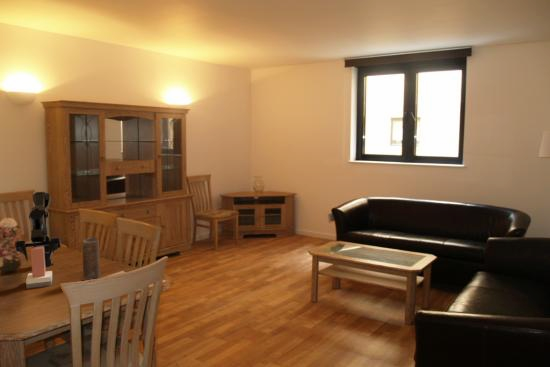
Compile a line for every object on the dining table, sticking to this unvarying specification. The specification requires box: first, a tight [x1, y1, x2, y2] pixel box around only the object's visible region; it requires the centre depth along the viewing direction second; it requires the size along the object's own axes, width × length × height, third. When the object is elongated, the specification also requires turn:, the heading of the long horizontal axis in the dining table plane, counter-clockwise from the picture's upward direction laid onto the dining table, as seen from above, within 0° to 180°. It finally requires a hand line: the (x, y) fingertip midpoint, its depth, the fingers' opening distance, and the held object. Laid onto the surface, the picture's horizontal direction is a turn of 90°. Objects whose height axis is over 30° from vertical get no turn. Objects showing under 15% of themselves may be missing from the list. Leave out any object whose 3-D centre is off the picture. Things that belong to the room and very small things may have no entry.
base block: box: [25, 270, 53, 289], centre depth 209 cm, size 10×10×4 cm
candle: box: [81, 237, 101, 281], centre depth 213 cm, size 8×7×20 cm
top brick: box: [30, 246, 47, 277], centre depth 208 cm, size 5×5×13 cm
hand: (38, 260), depth 207 cm, fingers open, 9 cm apart
